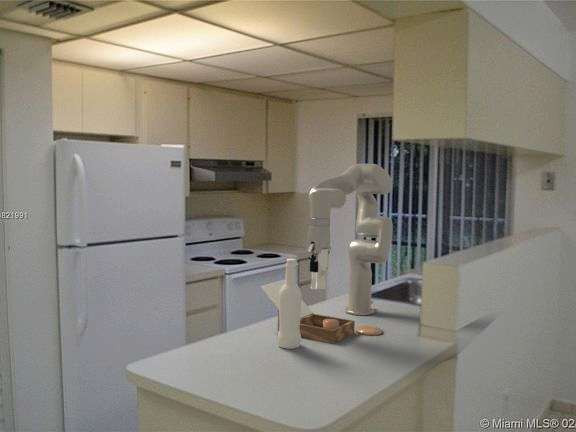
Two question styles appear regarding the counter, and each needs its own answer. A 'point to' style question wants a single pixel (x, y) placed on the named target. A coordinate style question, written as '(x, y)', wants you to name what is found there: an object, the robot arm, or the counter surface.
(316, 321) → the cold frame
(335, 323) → the peach rounded cylinder
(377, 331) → the orange dish
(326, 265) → the beer glass
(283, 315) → the bottle
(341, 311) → the counter surface
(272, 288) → the propped lid
